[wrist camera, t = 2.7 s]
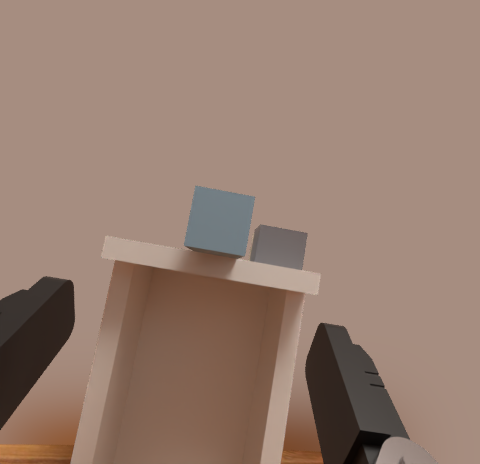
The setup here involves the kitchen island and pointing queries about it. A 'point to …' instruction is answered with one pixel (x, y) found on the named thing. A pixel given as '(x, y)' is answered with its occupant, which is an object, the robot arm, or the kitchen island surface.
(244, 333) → the shelf stand
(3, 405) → the robot arm
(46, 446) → the kitchen island surface
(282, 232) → the charcoal block
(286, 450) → the kitchen island surface
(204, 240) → the slate block
